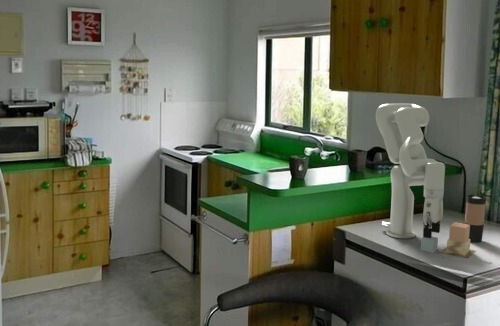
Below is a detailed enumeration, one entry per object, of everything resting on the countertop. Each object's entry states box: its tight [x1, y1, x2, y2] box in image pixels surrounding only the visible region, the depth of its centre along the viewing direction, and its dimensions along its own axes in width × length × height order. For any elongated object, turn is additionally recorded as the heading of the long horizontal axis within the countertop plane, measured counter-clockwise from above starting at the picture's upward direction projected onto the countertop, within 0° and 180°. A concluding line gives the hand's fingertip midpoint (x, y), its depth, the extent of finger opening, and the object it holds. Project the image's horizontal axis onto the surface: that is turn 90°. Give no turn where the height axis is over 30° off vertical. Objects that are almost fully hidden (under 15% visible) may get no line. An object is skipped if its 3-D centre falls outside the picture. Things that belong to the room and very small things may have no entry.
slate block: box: [420, 236, 439, 254], centre depth 231 cm, size 5×5×6 cm
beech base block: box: [446, 238, 471, 256], centre depth 229 cm, size 7×7×5 cm
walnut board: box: [439, 246, 476, 259], centre depth 230 cm, size 11×11×1 cm
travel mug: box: [464, 194, 487, 244], centre depth 243 cm, size 8×8×20 cm
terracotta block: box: [448, 221, 470, 243], centre depth 228 cm, size 6×6×6 cm
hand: (431, 234), depth 230 cm, fingers open, 9 cm apart
